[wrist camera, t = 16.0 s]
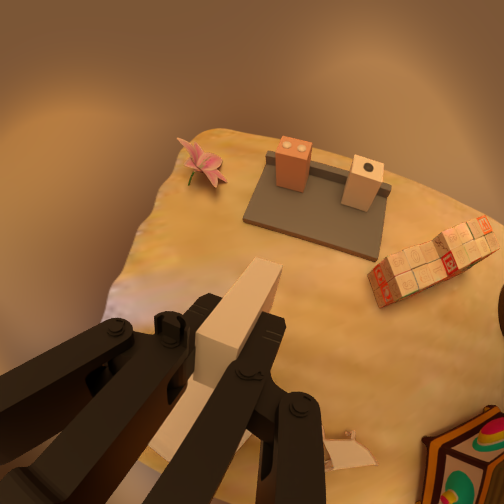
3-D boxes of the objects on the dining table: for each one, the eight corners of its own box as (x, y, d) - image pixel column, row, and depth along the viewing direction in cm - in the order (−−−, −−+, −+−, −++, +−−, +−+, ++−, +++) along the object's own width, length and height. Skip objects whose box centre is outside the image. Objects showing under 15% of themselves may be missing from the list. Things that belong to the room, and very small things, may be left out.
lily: (217, 214, 50) (232, 174, 43) (158, 196, 48) (165, 154, 41) (227, 177, 58) (241, 141, 51) (177, 162, 55) (185, 124, 48)
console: (385, 196, 47) (391, 185, 44) (375, 261, 43) (383, 253, 39) (268, 163, 52) (267, 150, 49) (243, 222, 48) (240, 210, 44)
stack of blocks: (378, 309, 40) (411, 291, 29) (366, 274, 42) (393, 246, 31) (464, 271, 40) (501, 247, 29) (452, 243, 42) (486, 213, 31)
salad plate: (114, 404, 38) (104, 406, 34) (177, 314, 43) (169, 311, 40) (209, 480, 32) (204, 488, 28) (284, 390, 37) (285, 393, 34)
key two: (308, 176, 48) (312, 141, 40) (303, 192, 47) (306, 158, 38) (282, 169, 49) (282, 134, 41) (276, 185, 48) (275, 151, 40)
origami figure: (300, 463, 32) (302, 475, 27) (319, 419, 34) (324, 427, 30) (367, 473, 29) (376, 484, 25) (386, 431, 32) (397, 438, 27)
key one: (369, 194, 46) (384, 162, 37) (367, 212, 45) (382, 181, 36) (344, 186, 47) (355, 153, 38) (340, 203, 46) (351, 171, 37)
